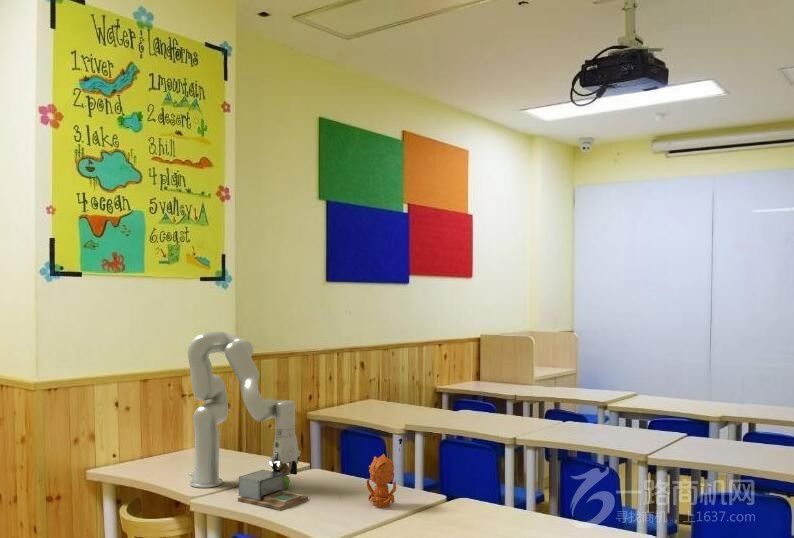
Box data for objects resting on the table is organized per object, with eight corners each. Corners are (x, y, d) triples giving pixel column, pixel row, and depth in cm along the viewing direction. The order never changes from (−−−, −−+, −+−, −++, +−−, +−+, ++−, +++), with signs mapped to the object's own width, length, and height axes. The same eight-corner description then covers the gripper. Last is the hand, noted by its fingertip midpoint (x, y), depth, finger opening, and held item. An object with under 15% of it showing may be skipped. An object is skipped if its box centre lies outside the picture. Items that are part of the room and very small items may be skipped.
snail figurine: (289, 491, 282) (289, 459, 282) (273, 490, 283) (274, 459, 284) (294, 487, 287) (294, 456, 288) (278, 486, 289) (279, 455, 289)
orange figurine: (401, 502, 269) (401, 453, 269) (391, 510, 259) (391, 459, 259) (372, 499, 272) (373, 450, 273) (361, 507, 262) (362, 456, 263)
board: (237, 501, 268) (237, 494, 268) (267, 491, 282) (267, 484, 282) (279, 510, 258) (279, 503, 258) (308, 499, 271) (308, 493, 271)
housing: (238, 495, 270) (238, 476, 270) (262, 487, 281) (263, 469, 281) (259, 500, 265) (259, 480, 265) (283, 492, 276) (283, 473, 276)
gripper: (277, 437, 276) (277, 483, 276) (306, 429, 291) (306, 473, 291) (262, 435, 280) (262, 480, 280) (292, 428, 295) (292, 470, 295)
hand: (285, 476), depth 285 cm, fingers open, 9 cm apart
